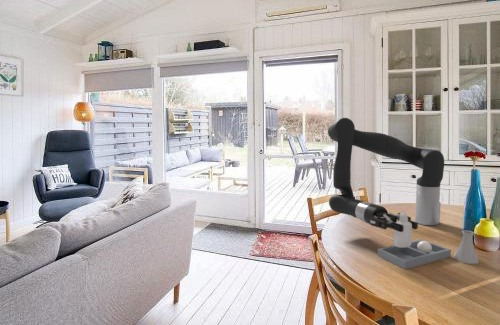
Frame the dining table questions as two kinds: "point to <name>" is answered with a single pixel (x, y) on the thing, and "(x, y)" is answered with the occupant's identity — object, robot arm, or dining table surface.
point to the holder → (413, 254)
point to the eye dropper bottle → (403, 237)
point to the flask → (466, 249)
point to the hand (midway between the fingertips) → (409, 227)
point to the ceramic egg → (424, 247)
